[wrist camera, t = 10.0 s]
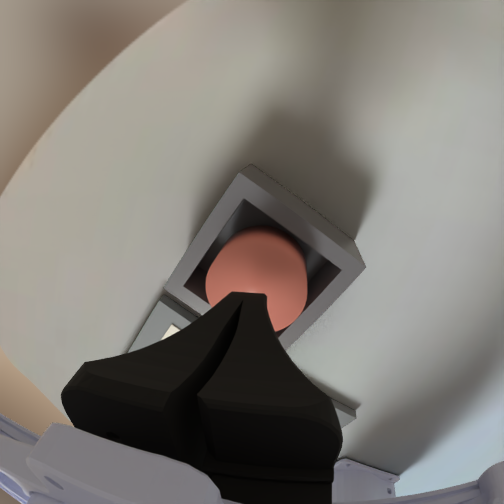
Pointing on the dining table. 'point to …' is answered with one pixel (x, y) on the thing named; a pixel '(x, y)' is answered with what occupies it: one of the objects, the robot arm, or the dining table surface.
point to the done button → (262, 272)
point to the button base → (281, 217)
